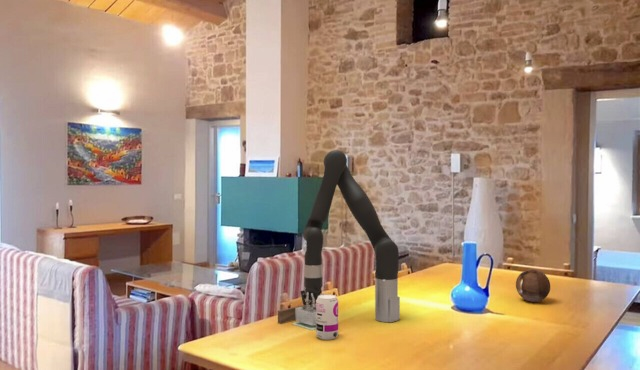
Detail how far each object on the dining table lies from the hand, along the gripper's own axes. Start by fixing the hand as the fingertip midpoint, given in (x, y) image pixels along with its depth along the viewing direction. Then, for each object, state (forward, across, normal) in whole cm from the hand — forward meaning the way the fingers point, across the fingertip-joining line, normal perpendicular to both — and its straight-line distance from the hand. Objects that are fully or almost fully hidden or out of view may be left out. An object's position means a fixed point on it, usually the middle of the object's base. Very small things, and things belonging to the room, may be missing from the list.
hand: (313, 317), depth 218 cm
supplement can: (+2, -19, +11) cm, 22 cm away
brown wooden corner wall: (+2, +1, +3) cm, 4 cm away
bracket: (0, -3, +3) cm, 4 cm away
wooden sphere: (+2, -47, -96) cm, 107 cm away
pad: (+2, -3, +3) cm, 5 cm away
